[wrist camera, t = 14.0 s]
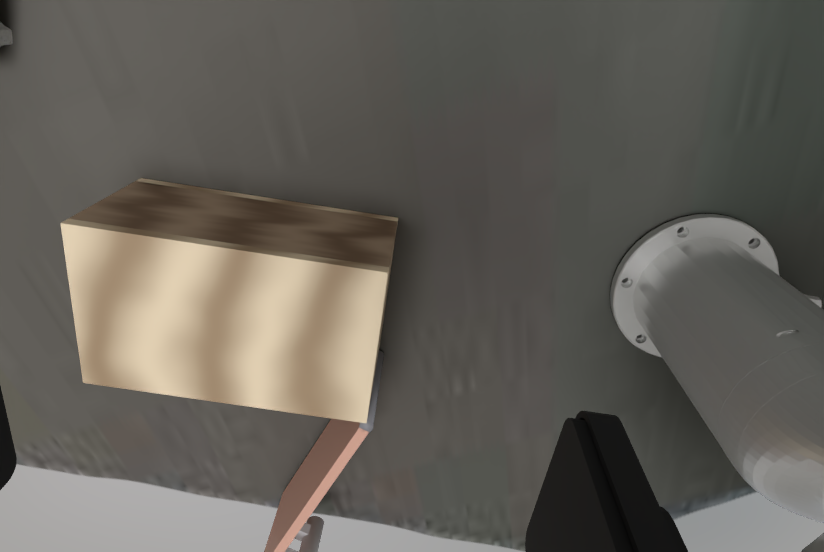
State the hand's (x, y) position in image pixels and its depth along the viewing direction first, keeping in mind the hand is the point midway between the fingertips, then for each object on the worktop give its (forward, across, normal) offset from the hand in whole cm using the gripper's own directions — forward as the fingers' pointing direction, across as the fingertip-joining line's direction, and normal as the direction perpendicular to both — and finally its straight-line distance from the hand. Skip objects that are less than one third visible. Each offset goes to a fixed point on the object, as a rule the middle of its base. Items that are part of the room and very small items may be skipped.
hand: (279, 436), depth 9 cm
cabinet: (+33, +9, +14) cm, 37 cm away
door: (+33, +1, +30) cm, 45 cm away
